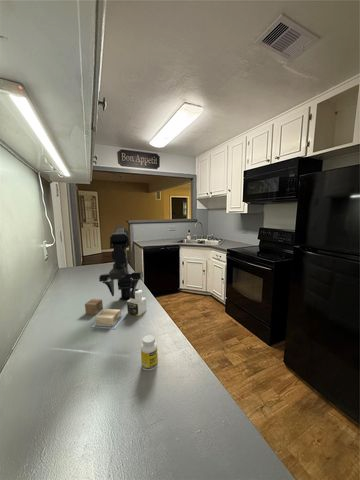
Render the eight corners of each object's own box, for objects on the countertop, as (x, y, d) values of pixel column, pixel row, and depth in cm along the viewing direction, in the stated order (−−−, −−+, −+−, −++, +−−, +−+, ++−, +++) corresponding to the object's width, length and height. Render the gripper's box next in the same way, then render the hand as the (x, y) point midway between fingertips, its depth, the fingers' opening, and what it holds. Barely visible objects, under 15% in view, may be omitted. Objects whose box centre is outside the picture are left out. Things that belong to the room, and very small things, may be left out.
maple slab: (106, 316, 100) (105, 308, 99) (121, 317, 98) (120, 309, 98) (96, 325, 92) (96, 317, 91) (112, 326, 91) (112, 318, 90)
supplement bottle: (150, 373, 64) (149, 345, 63) (138, 367, 67) (136, 340, 66) (161, 362, 69) (159, 336, 67) (149, 357, 71) (147, 331, 70)
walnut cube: (92, 309, 109) (91, 298, 108) (103, 310, 108) (102, 299, 107) (85, 315, 103) (84, 304, 102) (96, 315, 102) (95, 304, 101)
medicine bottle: (127, 314, 102) (125, 291, 101) (136, 308, 109) (135, 286, 107) (138, 317, 99) (136, 294, 97) (147, 310, 105) (145, 288, 104)
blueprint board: (104, 315, 102) (104, 313, 102) (126, 316, 100) (126, 315, 100) (90, 328, 91) (90, 327, 90) (114, 330, 88) (114, 329, 88)
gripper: (91, 264, 83) (94, 301, 83) (135, 260, 82) (138, 299, 82) (103, 261, 95) (105, 295, 94) (142, 259, 93) (145, 292, 93)
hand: (123, 295), depth 90 cm, fingers open, 9 cm apart
